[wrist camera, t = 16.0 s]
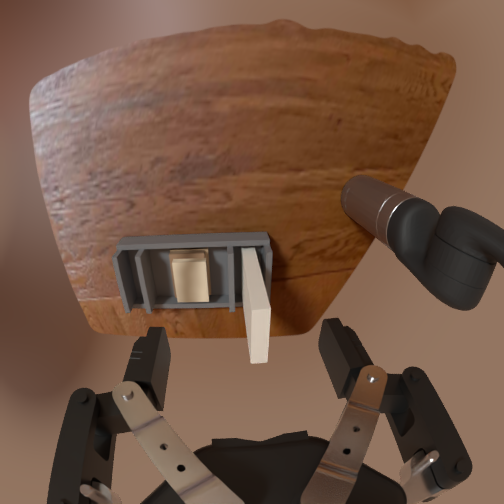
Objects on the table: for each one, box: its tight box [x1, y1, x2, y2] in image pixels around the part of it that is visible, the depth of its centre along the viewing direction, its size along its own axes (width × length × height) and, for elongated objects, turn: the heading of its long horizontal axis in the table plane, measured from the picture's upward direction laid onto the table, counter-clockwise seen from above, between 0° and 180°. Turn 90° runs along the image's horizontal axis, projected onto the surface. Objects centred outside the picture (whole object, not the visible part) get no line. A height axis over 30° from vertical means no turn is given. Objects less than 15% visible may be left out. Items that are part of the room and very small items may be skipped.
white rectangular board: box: [241, 246, 271, 364], centre depth 45 cm, size 2×10×20 cm, turn 179°
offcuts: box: [169, 247, 211, 302], centre depth 51 cm, size 7×10×4 cm
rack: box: [112, 232, 273, 313], centre depth 51 cm, size 28×14×7 cm, turn 90°
